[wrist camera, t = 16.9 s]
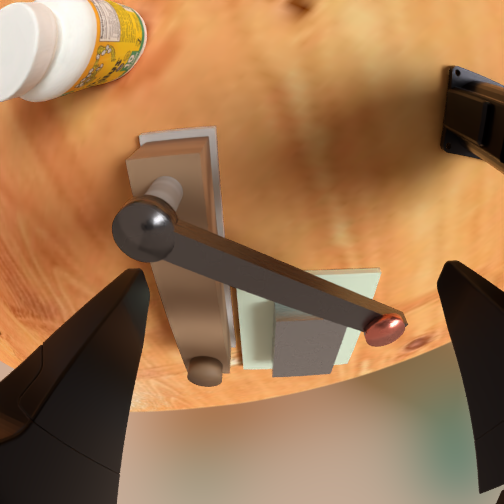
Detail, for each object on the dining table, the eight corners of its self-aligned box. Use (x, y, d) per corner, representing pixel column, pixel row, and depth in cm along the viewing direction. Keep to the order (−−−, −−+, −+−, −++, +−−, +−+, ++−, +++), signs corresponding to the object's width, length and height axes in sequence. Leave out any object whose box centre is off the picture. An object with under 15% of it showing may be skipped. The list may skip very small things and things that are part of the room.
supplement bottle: (139, -8, 11) (45, -43, 3) (158, 64, 14) (69, 77, 6) (67, 29, 12) (-42, 39, 4) (85, 95, 15) (-19, 141, 7)
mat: (379, 267, 23) (381, 272, 23) (346, 359, 32) (347, 363, 31) (235, 272, 23) (235, 277, 23) (243, 365, 32) (243, 369, 31)
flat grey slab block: (343, 295, 24) (350, 317, 22) (326, 354, 30) (330, 373, 28) (274, 298, 24) (275, 321, 22) (271, 357, 30) (272, 377, 28)
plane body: (142, 133, 17) (92, 173, 11) (216, 125, 17) (197, 161, 11) (189, 341, 29) (180, 399, 24) (235, 342, 29) (233, 402, 24)
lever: (115, 235, 13) (103, 254, 12) (128, 184, 11) (114, 201, 10) (379, 333, 17) (385, 352, 16) (409, 305, 16) (417, 324, 15)
